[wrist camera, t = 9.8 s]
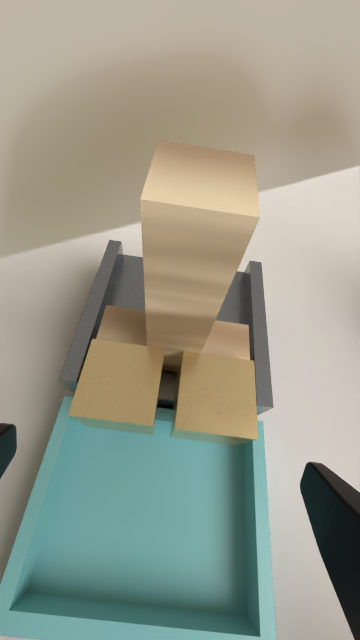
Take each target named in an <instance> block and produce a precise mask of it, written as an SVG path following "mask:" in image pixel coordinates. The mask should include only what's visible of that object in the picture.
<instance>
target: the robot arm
mask: <svg viewBox="0 0 360 640" xmlns="http://www.w3.org/2000/svg"><path fill="white" fill-rule="evenodd" d="M16 448H17V440H16V426H15V425H13V424H6V423H0V478H1V477H2V475H3V473H4V472H5V470H6V468H7V467H8V465H9V463H10V462H11V460H12V458H13V457H14V455H15V452H16ZM300 490H301V494H302V497H303V500H304V503H305V507H306V510H307V513H308V516H309V520H310V523H311V526H312V529H313V533H314V536H315V539H316V542H317V545H318V548H319V551H320V554H321V556H322V559H323V562H324V564H325V567H326V569H327V572H328V574H329V577H330V579H331V582H332V584H333V587H334V589H335V592H336V594H337V597H338V599H339V602H340V604H341V607H342V609H343V612H344V614H345V617H346V619H347V622H348V624H349V627H350V629H351V632H352V634H353V637H354V639H355V640H360V492H358V491H357V490H356V489H354V488H353V487H352V486H351V485H349V484H348V483H347V482H345V481H344V480H343V479H341V478H340V477H339V476H338V475H336V474H335V473H334V472H332V471H331V470H330V469H329V468H327V467H326V466H325V465H323V464H321V463H316V462H308V463H307V464H306V466H305V470H304V473H303V476H302V479H301V482H300Z"/></svg>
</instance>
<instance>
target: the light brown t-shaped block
mask: <svg viewBox="0 0 360 640" xmlns="http://www.w3.org/2000/svg"><path fill="white" fill-rule="evenodd" d="M140 200H141V223H142V245H143V267H144V289H145V310H138V309H131V308H124V307H117V306H110V305H106V308H105V311H104V315H103V318H102V321H101V324H100V327H99V331H98V334H97V337H96V339H99V340H106V341H113V342H121V343H128V344H135V345H143V346H150V347H157V348H165V352H164V361H163V371H170V372H178V369H179V365H180V361H181V357H182V354H183V351H187V352H194V353H201V354H208V355H216V356H223V357H230V358H238V359H245V360H250V347H249V325H244V324H237V323H230V322H223V321H216V317H217V315H218V313H219V311H220V308H221V306H222V304H223V301H224V299H225V297H226V294H227V292H228V290H229V287H230V285H231V283H232V281H233V278H234V276H235V274H236V271H237V269H238V267H239V264H240V262H241V260H242V257H243V255H244V253H245V251H246V248H247V246H248V244H249V241H250V239H251V237H252V234H253V232H254V230H255V227H256V225H257V223H258V221H259V218H260V214H259V203H258V192H257V181H256V170H255V159H254V155H249V154H243V153H236V152H230V151H223V150H218V149H211V148H205V147H199V146H192V145H187V144H180V143H174V142H167V141H161V140H159V141H158V144H157V147H156V150H155V153H154V157H153V160H152V163H151V166H150V170H149V173H148V176H147V180H146V183H145V186H144V189H143V192H142V196H141V199H140Z"/></svg>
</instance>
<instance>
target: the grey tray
mask: <svg viewBox="0 0 360 640" xmlns="http://www.w3.org/2000/svg"><path fill="white" fill-rule="evenodd" d="M106 305H110V306H117V307H124V308H131V309H138V310H145V289H144V267H143V258H142V257H135V256H128V255H123V250H122V243H121V242H120V241H113V240H109V243H108V245H107V248H106V251H105V254H104V256H103V259H102V262H101V265H100V267H99V270H98V273H97V276H96V279H95V281H94V284H93V287H92V290H91V292H90V295H89V298H88V301H87V303H86V306H85V309H84V312H83V314H82V317H81V320H80V323H79V326H78V328H77V331H76V334H75V337H74V339H73V342H72V345H71V348H70V350H69V353H68V356H67V359H66V361H65V364H64V367H63V370H62V373H61V375H60V378H59V380H60V381H61V382H62V383H63V384H65V385H66V386H67V387H68V388H69V389H70V390H71V391H72V392H73V393H74V394H75V391H76V388H77V385H78V382H79V379H80V376H81V372H82V369H83V366H84V363H85V360H86V357H87V354H88V351H89V347H90V344H91V341H92V339H96V337H97V334H98V331H99V327H100V324H101V321H102V318H103V315H104V311H105V308H106ZM216 321H223V322H230V323H237V324H244V325H249V347H250V360H252V361H254V365H255V385H256V405H257V415H259V414H261V413H263V412H265V411H267V410H269V409H272V408H273V398H272V386H271V374H270V361H269V349H268V337H267V325H266V313H265V301H264V289H263V277H262V265H261V262H255V261H249V264H248V266H247V268H246V270H245V272H237V271H236V274H235V276H234V278H233V281H232V283H231V285H230V287H229V290H228V292H227V294H226V297H225V299H224V301H223V304H222V306H221V308H220V311H219V313H218V315H217V317H216ZM176 379H177V372H170V371H162V378H161V385H160V391H159V398H158V405H157V408H164V409H172V410H173V405H174V396H175V388H176Z"/></svg>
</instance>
